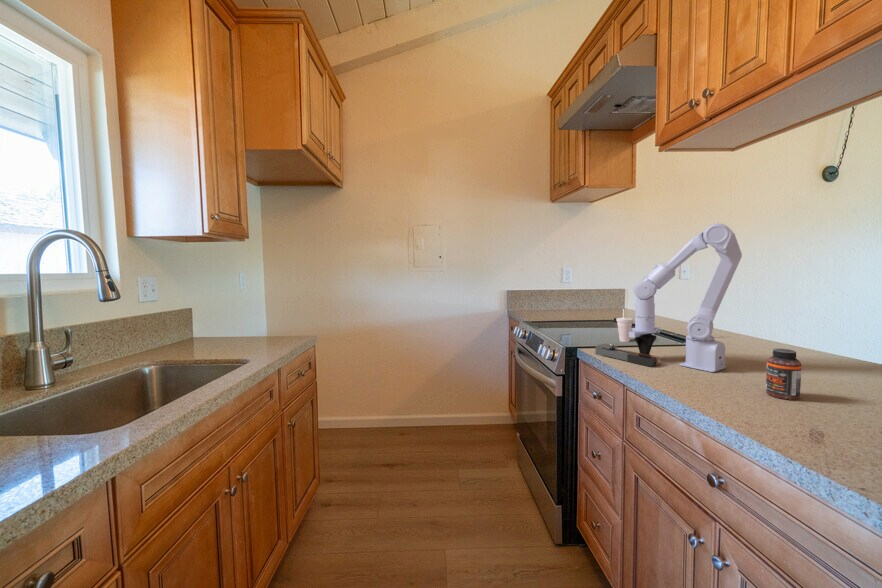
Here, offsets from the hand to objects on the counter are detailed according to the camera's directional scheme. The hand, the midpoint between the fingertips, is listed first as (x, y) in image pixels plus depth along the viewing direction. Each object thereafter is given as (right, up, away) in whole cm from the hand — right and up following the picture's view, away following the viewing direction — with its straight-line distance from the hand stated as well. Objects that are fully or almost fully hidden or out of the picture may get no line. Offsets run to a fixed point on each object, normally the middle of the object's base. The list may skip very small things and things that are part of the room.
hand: (644, 356), depth 119 cm
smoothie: (+9, +1, +30) cm, 31 cm away
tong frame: (-6, -1, +2) cm, 6 cm away
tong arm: (-4, -1, +1) cm, 4 cm away
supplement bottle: (+13, -4, -35) cm, 37 cm away
